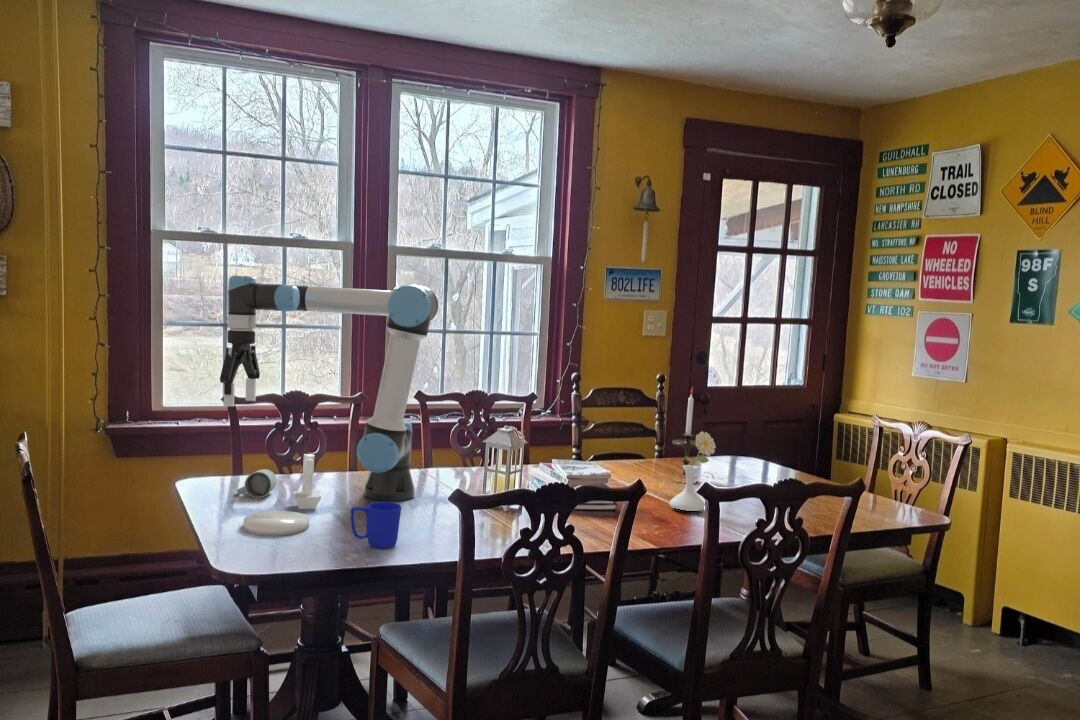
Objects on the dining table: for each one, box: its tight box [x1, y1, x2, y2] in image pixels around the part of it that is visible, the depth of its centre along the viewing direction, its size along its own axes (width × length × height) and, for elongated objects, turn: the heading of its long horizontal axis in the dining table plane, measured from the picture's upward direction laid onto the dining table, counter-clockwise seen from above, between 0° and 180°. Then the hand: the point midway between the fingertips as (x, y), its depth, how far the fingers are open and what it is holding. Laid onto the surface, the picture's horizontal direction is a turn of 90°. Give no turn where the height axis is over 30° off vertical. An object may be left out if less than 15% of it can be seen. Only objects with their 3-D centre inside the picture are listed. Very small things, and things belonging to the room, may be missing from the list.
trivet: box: [242, 510, 310, 537], centre depth 213 cm, size 16×16×2 cm
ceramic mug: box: [236, 468, 277, 499], centre depth 244 cm, size 11×8×8 cm
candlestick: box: [672, 385, 697, 475], centre depth 302 cm, size 11×11×35 cm
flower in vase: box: [668, 430, 717, 512], centre depth 259 cm, size 13×11×25 cm
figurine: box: [292, 453, 322, 510], centre depth 234 cm, size 7×9×15 cm
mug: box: [350, 501, 402, 550], centre depth 203 cm, size 8×12×10 cm
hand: (240, 403), depth 240 cm, fingers open, 13 cm apart
